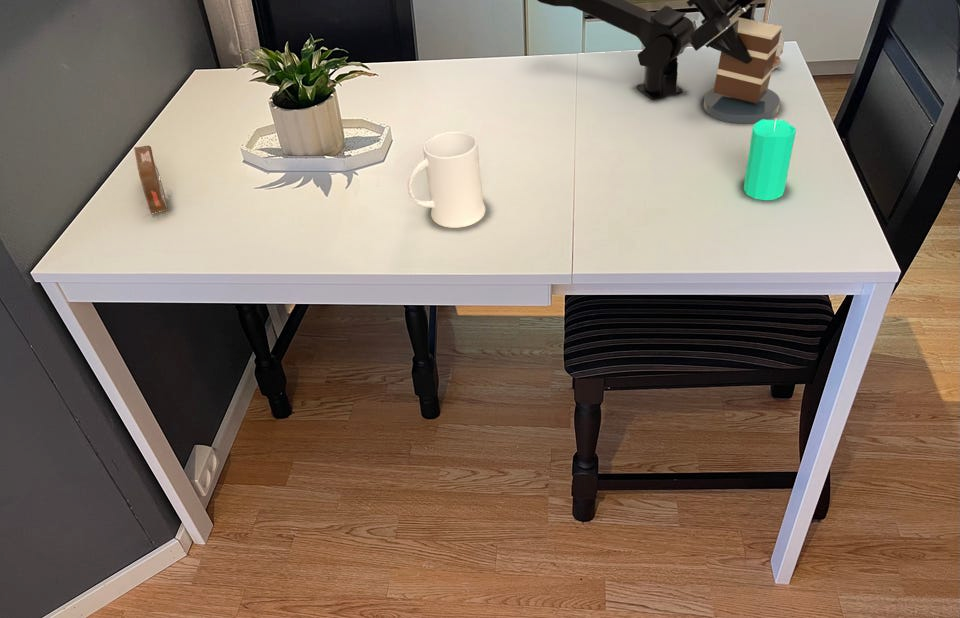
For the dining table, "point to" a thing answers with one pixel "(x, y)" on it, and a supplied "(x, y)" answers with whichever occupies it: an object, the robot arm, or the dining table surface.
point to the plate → (741, 107)
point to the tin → (150, 179)
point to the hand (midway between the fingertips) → (755, 56)
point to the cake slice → (755, 75)
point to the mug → (452, 179)
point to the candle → (769, 159)
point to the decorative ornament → (781, 40)
